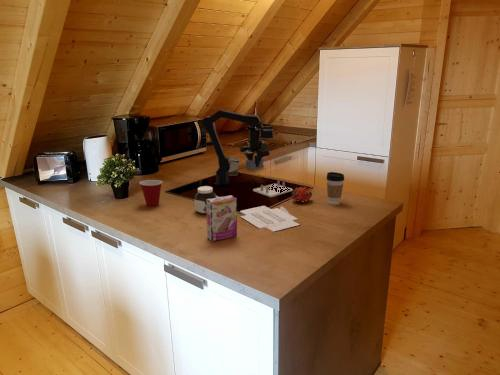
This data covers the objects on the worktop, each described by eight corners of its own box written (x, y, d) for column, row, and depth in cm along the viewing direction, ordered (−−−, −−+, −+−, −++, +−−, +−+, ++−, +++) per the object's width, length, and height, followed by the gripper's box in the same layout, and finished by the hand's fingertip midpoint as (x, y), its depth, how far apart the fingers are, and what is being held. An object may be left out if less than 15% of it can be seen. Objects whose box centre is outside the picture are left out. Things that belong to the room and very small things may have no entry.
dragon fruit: (289, 206, 196) (309, 205, 201) (298, 200, 189) (318, 200, 194) (286, 190, 198) (305, 190, 204) (295, 184, 191) (315, 184, 197)
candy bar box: (212, 242, 153) (210, 202, 148) (207, 238, 158) (205, 199, 153) (237, 236, 158) (237, 197, 153) (232, 232, 163) (231, 194, 158)
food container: (240, 173, 249) (240, 157, 246) (239, 175, 244) (239, 159, 240) (221, 172, 251) (221, 157, 248) (219, 175, 245) (219, 159, 242)
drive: (251, 170, 218) (251, 161, 216) (246, 169, 221) (245, 160, 220) (263, 167, 224) (263, 159, 222) (257, 166, 227) (257, 157, 225)
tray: (270, 197, 204) (271, 189, 203) (253, 190, 214) (253, 183, 213) (292, 190, 214) (292, 183, 213) (274, 185, 224) (274, 178, 223)
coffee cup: (326, 199, 200) (327, 170, 196) (343, 201, 198) (345, 172, 193) (324, 205, 193) (325, 175, 188) (341, 206, 190) (343, 176, 186)
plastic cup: (168, 202, 198) (166, 179, 194) (157, 209, 188) (155, 185, 185) (149, 200, 201) (147, 177, 198) (137, 207, 191) (134, 183, 188)
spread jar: (193, 214, 182) (192, 190, 178) (199, 206, 193) (198, 183, 189) (219, 215, 180) (218, 191, 177) (224, 207, 191) (223, 184, 187)
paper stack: (267, 235, 161) (267, 226, 160) (233, 216, 184) (233, 208, 183) (306, 224, 171) (306, 216, 170) (269, 208, 194) (269, 200, 193)
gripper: (277, 139, 215) (276, 166, 220) (254, 134, 229) (254, 161, 234) (261, 141, 209) (261, 170, 213) (239, 137, 222) (239, 164, 227)
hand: (254, 166), depth 222 cm, fingers closed on drive, 5 cm apart
